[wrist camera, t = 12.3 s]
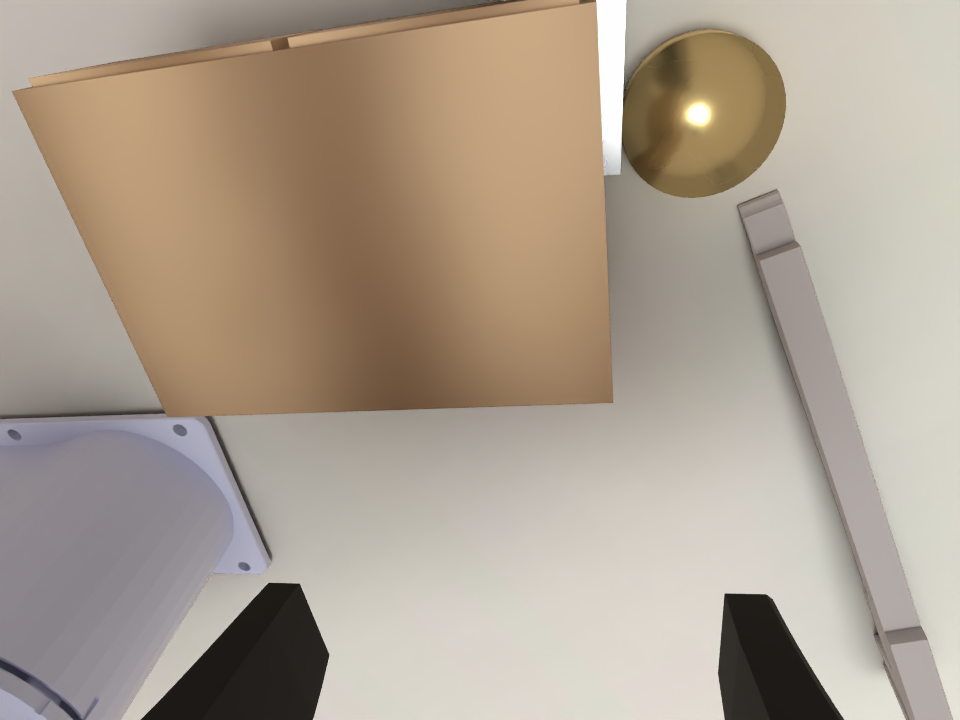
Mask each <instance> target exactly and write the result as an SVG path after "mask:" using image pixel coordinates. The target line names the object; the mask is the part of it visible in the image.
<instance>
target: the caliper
mask: <svg viewBox="0 0 960 720" xmlns="http://www.w3.org/2000/svg"><path fill="white" fill-rule="evenodd" d="M738 209H739V212H740V215H741V218H742V221H743V224H744V227H745V230H746V233H747V236H748V239H749V242H750V245H751V248H752V253H753V256H754V259H755V262H756V265H757V269H758V272H759V275H760V278H761V281H762V284H763V287H764V291H765V294H766V297H767V300H768V303H769V306H770V309H771V312H772V315H773V318H774V321H775V324H776V327H777V330H778V333H779V336H780V339H781V342H782V344H783V347H784V350H785V353H786V356H787V359H788V362H789V365H790V368H791V371H792V374H793V377H794V380H795V383H796V386H797V389H798V392H799V395H800V398H801V400H802V403H803V406H804V409H805V412H806V415H807V418H808V421H809V424H810V427H811V430H812V433H813V436H814V439H815V442H816V445H817V448H818V451H819V454H820V457H821V459H822V462H823V465H824V468H825V471H826V474H827V477H828V480H829V483H830V486H831V489H832V492H833V495H834V498H835V501H836V504H837V507H838V510H839V513H840V516H841V519H842V522H843V525H844V528H845V530H846V533H847V536H848V539H849V542H850V545H851V548H852V551H853V554H854V557H855V560H856V563H857V566H858V569H859V572H860V575H861V578H862V581H863V584H864V587H863V590H864V593H865V596H866V599H867V602H868V604H869V607H870V610H871V613H872V616H873V620H874V623H875V625H876V628H877V631H878V634H879V635H874V637H875V640H876V643H877V646H878V648H879V650H880V652H881V654H882V657H883V659H884V661H885V664H883V665H884V668H885V671H886V673H887V676H888V678H889V681H890V683H891V686H892V688H893V690H894V693H895V695H896V697H897V700H898V702H899V704H900V707H901V709H902V711H903V714H904V716H905V718H906V720H953V718H952V715H951V711H950V708H949V705H948V702H947V699H946V696H945V693H944V689H943V686H942V683H941V680H940V677H939V674H938V671H937V668H936V664H935V661H934V658H933V655H932V652H931V649H930V646H929V642H928V639H927V637H926V635H925V633H924V631H923V629H922V628H921V625H920V622H919V619H918V616H917V612H916V609H915V606H914V603H913V600H912V597H911V593H910V590H909V587H908V584H907V581H906V578H905V574H904V571H903V568H902V565H901V562H900V559H899V555H898V552H897V549H896V546H895V543H894V540H893V537H892V533H891V530H890V527H889V524H888V521H887V518H886V514H885V511H884V508H883V505H882V502H881V499H880V495H879V492H878V489H877V486H876V483H875V480H874V476H873V473H872V470H871V467H870V464H869V461H868V457H867V454H866V451H865V448H864V445H863V442H862V438H861V435H860V432H859V429H858V426H857V423H856V420H855V416H854V413H853V410H852V407H851V404H850V401H849V397H848V394H847V391H846V388H845V385H844V382H843V378H842V375H841V372H840V369H839V366H838V363H837V360H836V356H835V353H834V350H833V347H832V344H831V341H830V337H829V334H828V331H827V328H826V325H825V322H824V319H823V315H822V312H821V309H820V306H819V303H818V300H817V297H816V293H815V290H814V287H813V284H812V281H811V278H810V274H809V271H808V268H807V265H806V262H805V259H804V256H803V252H802V249H801V246H800V245H799V244H798V243H797V242H796V241H795V238H794V235H793V231H792V228H791V225H790V222H789V219H788V216H787V213H786V210H785V206H784V203H783V202H782V200H781V197H780V194H779V192H778V190H776V191H773V192H771V193H768V194H766V195H763V196H760V197H758V198H755V199H753V200H750V201H748V202H745V203H743V204H740V205H738Z"/></svg>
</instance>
